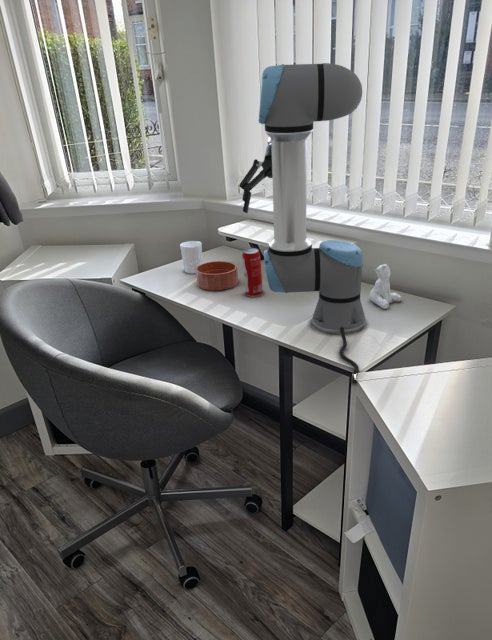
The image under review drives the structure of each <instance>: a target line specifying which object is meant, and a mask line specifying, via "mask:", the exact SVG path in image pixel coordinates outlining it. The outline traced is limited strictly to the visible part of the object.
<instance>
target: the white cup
mask: <svg viewBox="0 0 492 640" xmlns="http://www.w3.org/2000/svg"><path fill="white" fill-rule="evenodd" d="M179 249H180V253H181V254H180V255H181V260H182V264H183V270H184V272H185V273H186V274H196V267H197V266H199V265H201V264H203V263H204V262H203V261H204V260H203V244H202V242H201V241H198V240H187V241H183V242H182V243H180V244H179Z"/></svg>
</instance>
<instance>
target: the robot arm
mask: <svg viewBox="0 0 492 640" xmlns="http://www.w3.org/2000/svg"><path fill="white" fill-rule="evenodd" d="M260 85H261V86H260V97H259V109H258V124H260V125H264V133H265V134H266V135H267V136H268V138H267V145H266V149H265V153H264V157H263V158H264V159H263V161H259V160H258V159H257V158H256V159H254V160H253V163H252V166H251V167H250V169H249V170H248V172H247V173H246V174H245V176H244V177H243V179H242V180H241V182H240V183H239V185H238V186H239V188H240V189H242V190H243V193H242V201H243V202H244V203H243V208H242V212H243V213H244V214H249V213H248V211H249V207H250V202H251V197H252V192H251V191H252V190H253V189H254V188H255V187H256V186H258V184H259V183H261V182H262V181H263V180H264V179H266V178H268V179H272V207H273V208H272V209H273V211H272V213H273V238H271V240H270V241H269V242H268V248H267V249H265V250H263V259H264V268H265V275H266V279H267V284H268V288H269V290H270V291H271V292H273V293H284V294H288V293H305V292H306V293H307V292H308V293H310V292H318V300H317V303H316V305H315V308H314V311H313V314H312V320H311V322H312V323H311V324H312V327H313V328H314V329H316V330H317V331H319V332H322V333H324V334H328V335H329V334H331V335H340V336H341V339H342V346H341V348H340V350H339V357H340V358H341V359H342V360H343V361H345V363H346V362H347V363H348V364H350V365H351V366H352V367H353V368H354V370H353V373H352V375H353V374H356V373H358V374H359V371H360V368H359V366H358V364H357V362H356V361H354V360H352V359H351V358H349V357H347V356H346V354H345V353H344V352H345V351H346V348H347V346H348V341H347V338H346V335H349V334H354V333H357V332H360V331H361V330H362V329H364V328H365V326H366V315H365V312H364V308H363V304H362V300H361V290H362V274H363V273H362V271H363V267H364V263H363V251H362V249H361V248H360V247H359V246H358V245H356V244H354V243H352V242H348V241H344V240H338V239H327V240H323V241H321V242H320V244H319V245H318V247H313V242H312V240H310V238H309V237H308V236H307V185H308V183H307V179H308V178H307V176H308V175H307V173H308V171H307V170H308V169H307V167H308V166H307V165H308V164H307V162H308V161H307V160H308V159H307V158H308V156H307V154H308V150H307V149H308V148H307V147H308V137H309V136H310V135H311V134H312V133H313V131H314V123H315V122H327V121H333V120H338V119H340V118H344V117H346V116H348V115H351V114H352V113H353V112H355V111H356V110H357V109H358V107H359V105H360V104H361V101H362V98H363V84H362V82H361V80H360V78H359V77H358V75H357V74H356V73H355V72H354V71H352V70H351V69H350V68H347V67H345V66H344V65H340V64H337V63H329V62H322V63H298V64H284V63H283V64H277V65H270V66H267V67H265V68H264V69H263V71H262V74H261V83H260ZM261 167H262V169H261V171H259V173H257V172H258V170H259V169H260V168H261ZM256 173H257V175H256V176H255V174H256ZM357 383H358V380H357V381H356V380H354V378H353V377H352V384H353V385H354V384H355V385H356V384H357Z"/></svg>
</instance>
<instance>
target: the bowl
mask: <svg viewBox="0 0 492 640" xmlns="http://www.w3.org/2000/svg"><path fill="white" fill-rule="evenodd" d="M195 276H196V284H197V286H198V287H199V288H201V289H202V290H206V291H215V292H216V291H225V290H228V289H231V288H233V287H235V286H237V284H238V283H239V275H238V265H237V264H236V262H235V263H234V262H231V261H227V260H213V261H212V260H211V261H207V262H203V263H202V264H201V265H199V266H197V267H196V273H195Z"/></svg>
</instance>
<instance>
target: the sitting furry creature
mask: <svg viewBox="0 0 492 640" xmlns="http://www.w3.org/2000/svg"><path fill="white" fill-rule="evenodd" d="M373 270H374V272H375V273H376V276H377V279H376V280H375V284H374V286H373V288H372V289H370V292H369V294H370V296H369V297H370V300H371V302H372V303H373V304H375V305H377V306H378V307H379V308H381V309H383V310H388V308H389V307H390V305H391V304H392V303H394V302H395V303H401V299H402V295H400V294H398V293H397V292H391V283H390V276H391V274H392V273H391V269H390V266H389V265H388V264H386V263H383V264H380V265H378V266H377V267H375V268H374V269H373Z"/></svg>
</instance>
